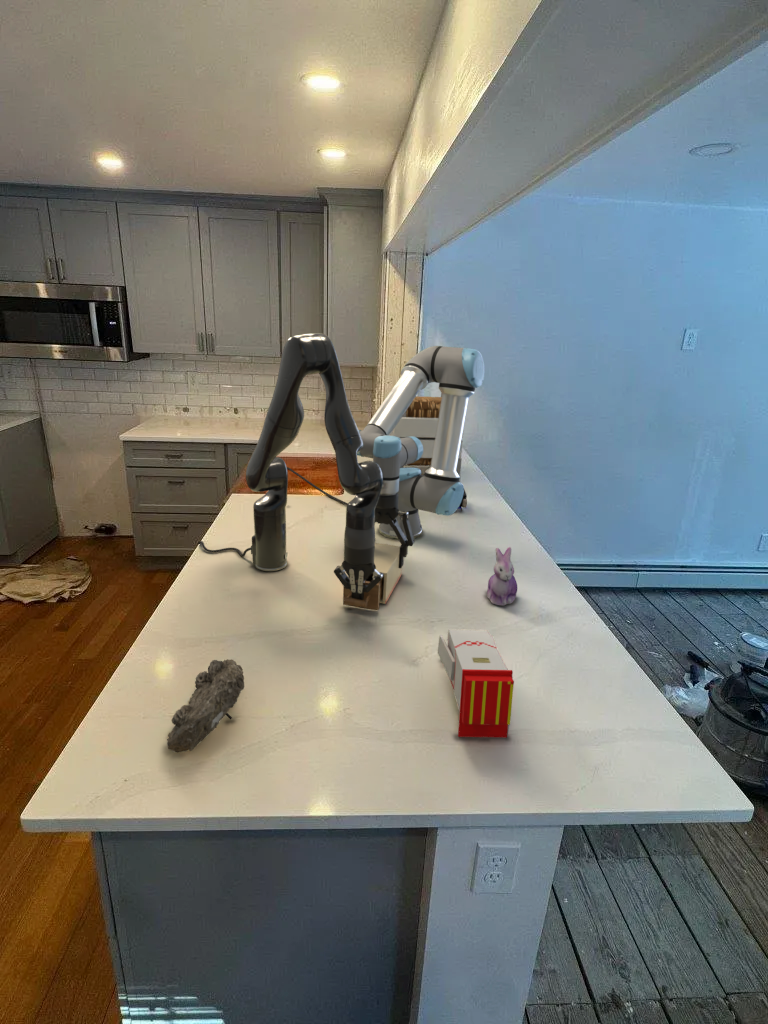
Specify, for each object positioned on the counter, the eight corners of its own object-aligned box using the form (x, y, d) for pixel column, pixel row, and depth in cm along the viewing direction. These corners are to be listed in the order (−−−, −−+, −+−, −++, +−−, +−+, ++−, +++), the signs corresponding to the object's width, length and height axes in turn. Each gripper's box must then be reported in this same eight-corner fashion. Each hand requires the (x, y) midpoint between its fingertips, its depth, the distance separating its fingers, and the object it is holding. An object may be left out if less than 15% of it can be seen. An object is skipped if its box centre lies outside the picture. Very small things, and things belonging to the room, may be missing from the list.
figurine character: (467, 516, 223) (461, 500, 237) (469, 499, 220) (463, 483, 233) (450, 516, 223) (446, 499, 236) (452, 498, 220) (447, 483, 233)
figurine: (499, 610, 151) (506, 558, 146) (476, 593, 160) (482, 544, 155) (527, 603, 156) (534, 553, 151) (503, 587, 164) (509, 539, 159)
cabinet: (385, 604, 152) (387, 573, 149) (347, 597, 155) (348, 566, 152) (401, 575, 169) (403, 546, 166) (366, 569, 171) (367, 541, 168)
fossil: (192, 660, 117) (244, 628, 112) (224, 691, 120) (276, 661, 115) (142, 746, 98) (202, 712, 93) (182, 779, 101) (242, 748, 96)
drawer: (371, 620, 142) (373, 594, 140) (336, 614, 144) (336, 588, 142) (394, 581, 163) (395, 558, 160) (362, 576, 165) (363, 553, 162)
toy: (488, 613, 130) (523, 677, 101) (484, 667, 133) (517, 744, 104) (435, 612, 130) (455, 676, 101) (432, 666, 133) (451, 743, 103)
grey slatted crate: (382, 463, 289) (386, 382, 275) (445, 464, 293) (451, 384, 279) (390, 482, 257) (394, 392, 243) (460, 483, 261) (468, 394, 247)
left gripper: (328, 543, 137) (328, 606, 143) (381, 551, 134) (378, 615, 140) (338, 532, 144) (337, 593, 150) (389, 539, 141) (386, 601, 147)
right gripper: (341, 490, 158) (340, 562, 165) (423, 500, 152) (418, 574, 160) (350, 483, 165) (348, 552, 172) (428, 492, 159) (423, 564, 167)
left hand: (357, 603), depth 145 cm, fingers closed
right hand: (381, 563), depth 166 cm, fingers closed on cabinet, 11 cm apart
